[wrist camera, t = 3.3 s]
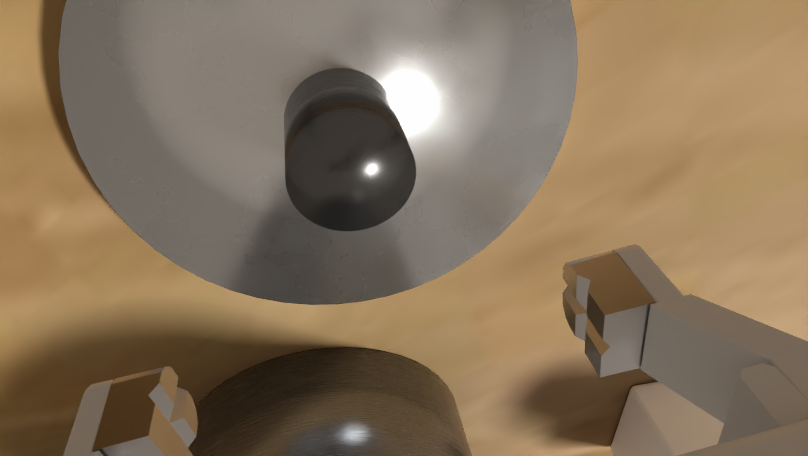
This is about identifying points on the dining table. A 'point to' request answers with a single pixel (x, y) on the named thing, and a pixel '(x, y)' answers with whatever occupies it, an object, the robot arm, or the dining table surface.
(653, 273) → the robot arm
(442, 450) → the pot
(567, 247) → the dining table surface
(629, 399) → the medicine bottle
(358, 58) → the lid
